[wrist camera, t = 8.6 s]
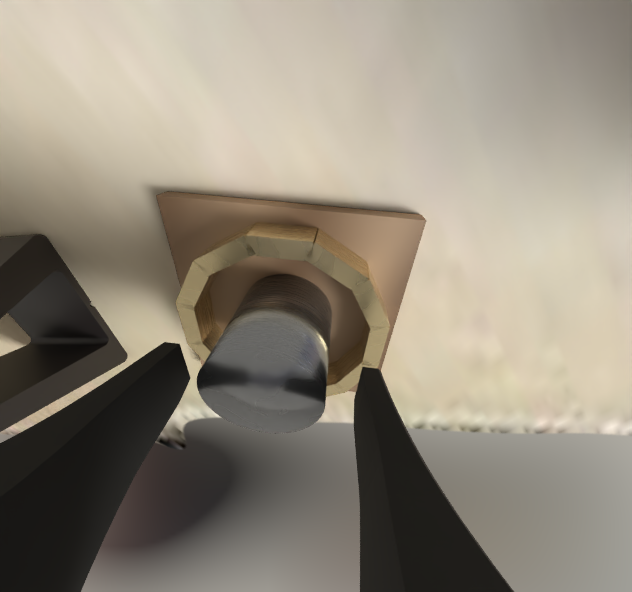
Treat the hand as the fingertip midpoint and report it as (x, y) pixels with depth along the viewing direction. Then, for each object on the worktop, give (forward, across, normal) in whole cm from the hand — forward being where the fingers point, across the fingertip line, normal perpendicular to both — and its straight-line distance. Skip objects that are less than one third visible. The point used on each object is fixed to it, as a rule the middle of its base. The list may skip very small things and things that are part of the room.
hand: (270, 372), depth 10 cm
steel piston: (+4, 0, 0) cm, 4 cm away
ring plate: (+4, 0, 0) cm, 5 cm away
